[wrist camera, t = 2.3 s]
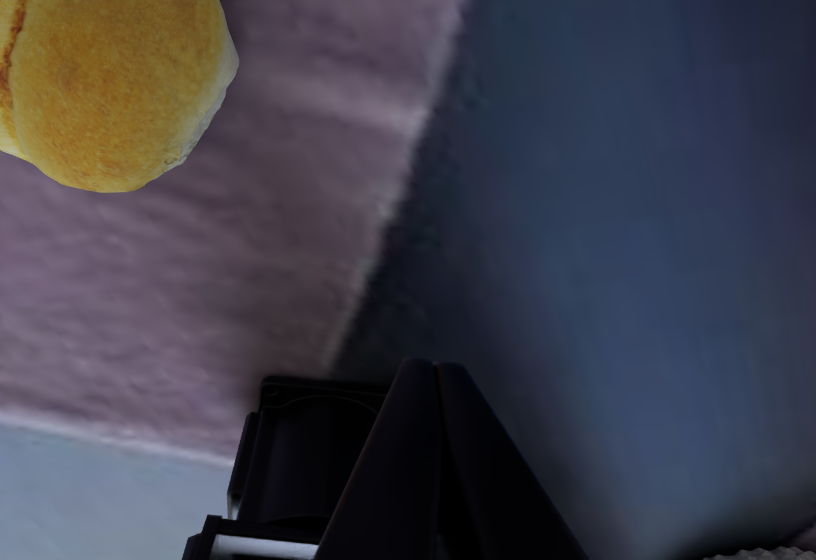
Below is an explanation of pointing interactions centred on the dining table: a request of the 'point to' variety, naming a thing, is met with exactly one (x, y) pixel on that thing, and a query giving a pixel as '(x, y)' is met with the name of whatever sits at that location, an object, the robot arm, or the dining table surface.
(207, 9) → the bread roll
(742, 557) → the sea urchin shell
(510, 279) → the dining table surface
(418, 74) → the dining table surface
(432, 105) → the dining table surface
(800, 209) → the dining table surface
